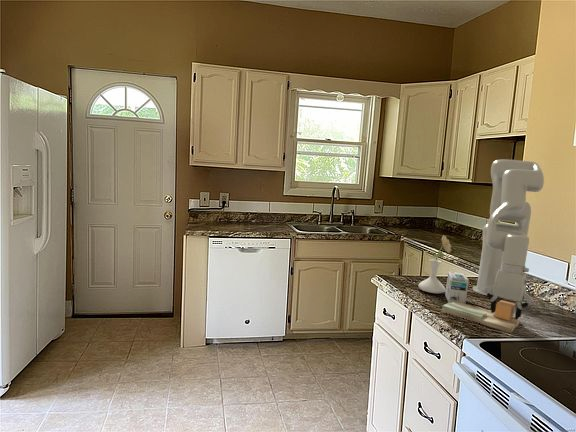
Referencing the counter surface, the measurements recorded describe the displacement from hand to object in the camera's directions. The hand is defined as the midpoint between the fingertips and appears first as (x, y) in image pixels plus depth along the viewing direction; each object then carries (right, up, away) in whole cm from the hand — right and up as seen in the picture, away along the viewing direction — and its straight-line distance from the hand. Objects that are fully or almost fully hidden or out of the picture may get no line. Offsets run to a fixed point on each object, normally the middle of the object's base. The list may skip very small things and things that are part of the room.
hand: (504, 314), depth 160 cm
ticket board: (-8, -1, +2) cm, 8 cm away
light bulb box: (-10, +1, +21) cm, 23 cm away
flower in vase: (-16, +3, +31) cm, 35 cm away
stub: (0, -1, 0) cm, 1 cm away
